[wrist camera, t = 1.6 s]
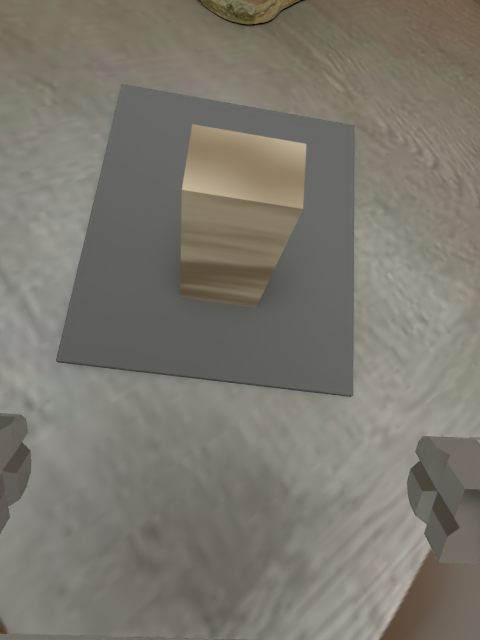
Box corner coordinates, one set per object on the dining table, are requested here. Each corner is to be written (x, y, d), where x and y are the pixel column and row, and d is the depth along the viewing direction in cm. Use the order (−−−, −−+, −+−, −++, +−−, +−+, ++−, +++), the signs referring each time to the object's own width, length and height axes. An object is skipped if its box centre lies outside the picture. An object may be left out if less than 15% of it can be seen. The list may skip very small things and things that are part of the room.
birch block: (255, 307, 35) (303, 208, 22) (179, 297, 35) (181, 189, 21) (259, 262, 36) (306, 143, 23) (186, 252, 36) (192, 124, 23)
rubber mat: (350, 396, 34) (353, 395, 34) (57, 362, 32) (56, 360, 32) (352, 129, 43) (354, 125, 43) (122, 88, 41) (121, 83, 40)
